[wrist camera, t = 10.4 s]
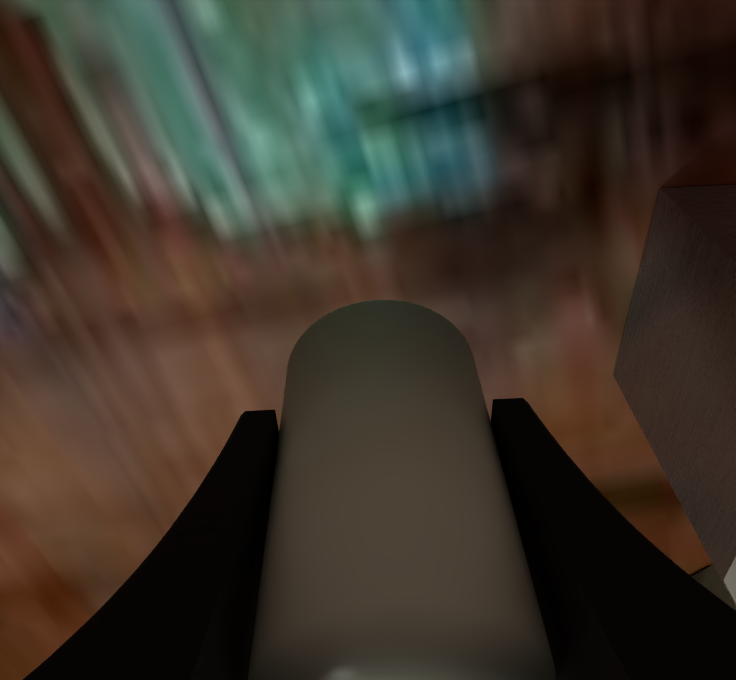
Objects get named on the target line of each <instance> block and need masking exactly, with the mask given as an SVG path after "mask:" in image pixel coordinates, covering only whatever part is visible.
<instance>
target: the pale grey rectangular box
mask: <svg viewBox="0 0 736 680" xmlns="http://www.w3.org/2000/svg"><path fill="white" fill-rule="evenodd" d="M723 581H724V582H725V584H726V586H727V588H728V590H729V592H730V594H731V596H732V598H733V599H734V601H735V603H736V557H735V559H734V561H733V563H732V565H731V566H730V568H729V570H728V572H727V574H726V576H725V578H724V580H723Z"/></svg>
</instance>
